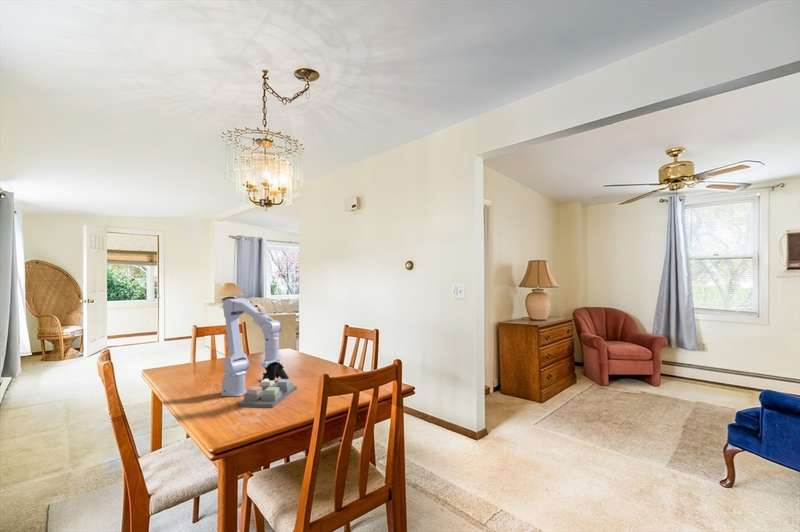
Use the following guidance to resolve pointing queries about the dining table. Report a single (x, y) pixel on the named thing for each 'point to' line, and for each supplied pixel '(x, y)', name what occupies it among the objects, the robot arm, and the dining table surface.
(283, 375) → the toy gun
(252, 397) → the control console
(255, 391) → the rose button
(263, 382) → the cream button
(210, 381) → the dining table surface
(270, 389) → the sage button
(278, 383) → the slate button
